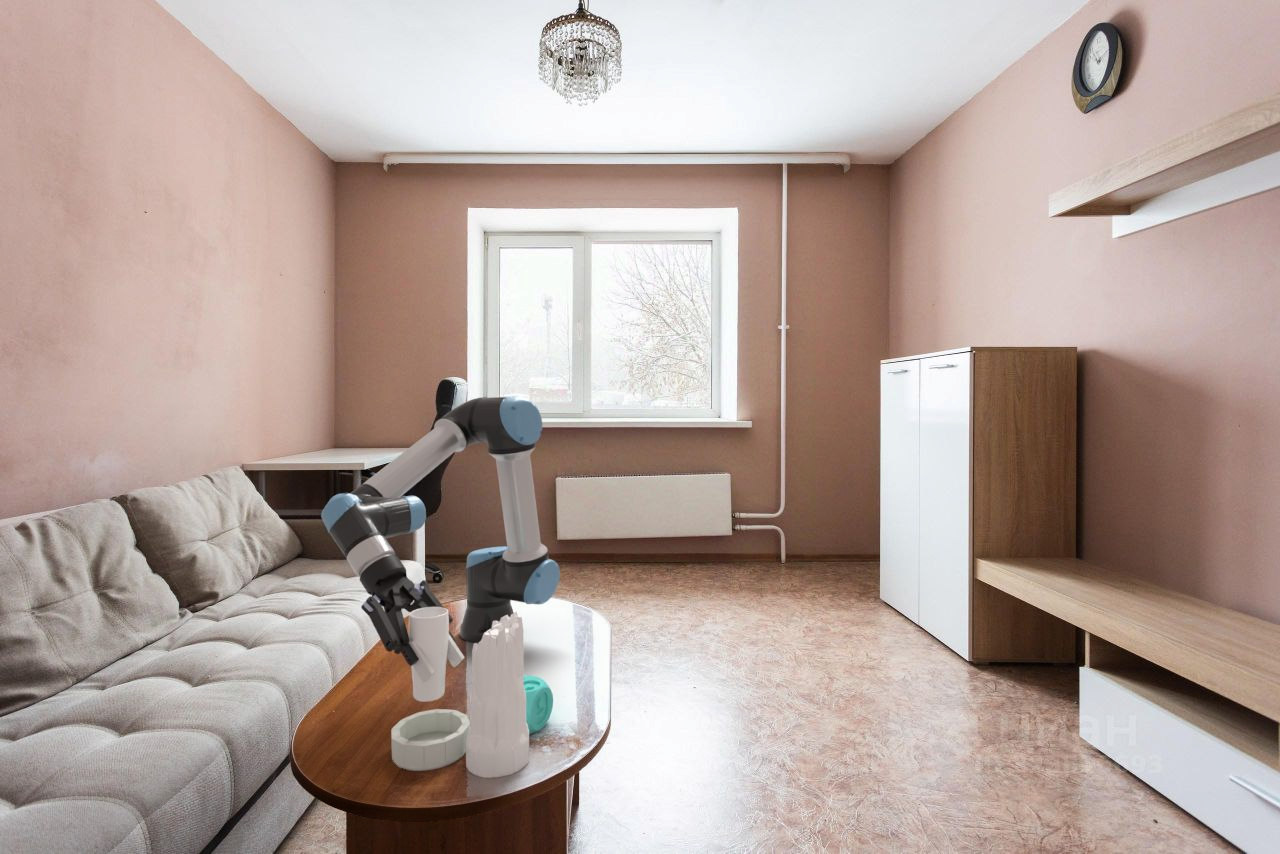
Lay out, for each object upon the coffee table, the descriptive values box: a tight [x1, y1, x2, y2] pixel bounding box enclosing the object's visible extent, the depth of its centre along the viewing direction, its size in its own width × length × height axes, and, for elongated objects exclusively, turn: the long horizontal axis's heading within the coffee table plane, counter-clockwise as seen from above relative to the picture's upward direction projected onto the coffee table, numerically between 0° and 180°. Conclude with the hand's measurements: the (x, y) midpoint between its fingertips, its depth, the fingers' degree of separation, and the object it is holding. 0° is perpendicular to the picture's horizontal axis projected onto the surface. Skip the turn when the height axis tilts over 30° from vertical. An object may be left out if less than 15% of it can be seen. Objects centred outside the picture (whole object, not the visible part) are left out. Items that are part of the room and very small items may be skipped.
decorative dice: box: [523, 675, 554, 735], centre depth 121 cm, size 8×8×8 cm
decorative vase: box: [465, 611, 530, 779], centre depth 109 cm, size 11×11×25 cm
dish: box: [390, 708, 470, 772], centre depth 112 cm, size 13×13×4 cm
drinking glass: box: [408, 606, 450, 703], centre depth 112 cm, size 7×7×15 cm
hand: (444, 669), depth 110 cm, fingers closed on drinking glass, 6 cm apart
